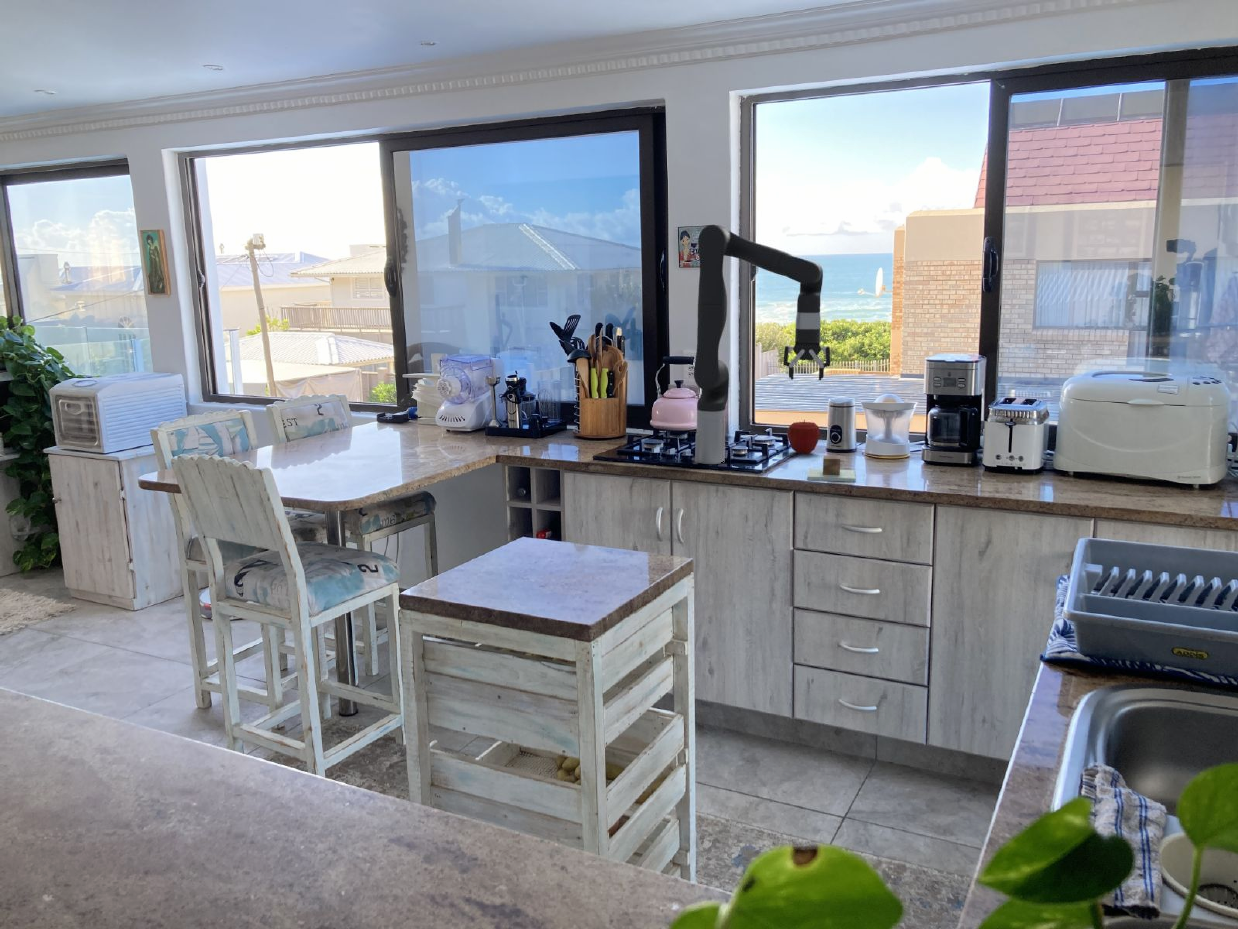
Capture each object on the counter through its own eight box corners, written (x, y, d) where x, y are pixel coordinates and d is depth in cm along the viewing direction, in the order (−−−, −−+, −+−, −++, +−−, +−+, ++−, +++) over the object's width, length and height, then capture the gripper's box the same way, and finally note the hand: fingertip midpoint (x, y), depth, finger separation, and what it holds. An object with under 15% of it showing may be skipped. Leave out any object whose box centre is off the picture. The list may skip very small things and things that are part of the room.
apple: (817, 450, 338) (818, 417, 335) (820, 456, 327) (822, 422, 325) (785, 450, 339) (786, 416, 336) (787, 456, 328) (788, 421, 326)
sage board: (807, 479, 292) (807, 476, 292) (808, 471, 304) (808, 468, 303) (855, 481, 289) (855, 478, 289) (854, 473, 301) (855, 470, 300)
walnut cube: (822, 474, 294) (823, 458, 293) (823, 471, 299) (823, 455, 298) (839, 475, 293) (840, 459, 292) (839, 472, 298) (840, 456, 297)
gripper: (783, 327, 298) (782, 380, 301) (831, 328, 295) (829, 381, 298) (785, 326, 305) (783, 377, 308) (831, 326, 302) (829, 378, 305)
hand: (806, 379), depth 303 cm, fingers open, 8 cm apart
